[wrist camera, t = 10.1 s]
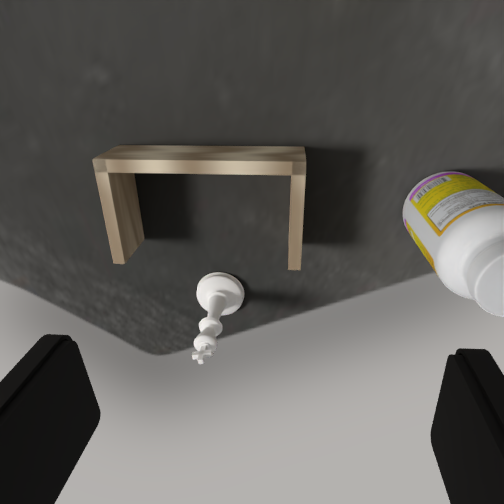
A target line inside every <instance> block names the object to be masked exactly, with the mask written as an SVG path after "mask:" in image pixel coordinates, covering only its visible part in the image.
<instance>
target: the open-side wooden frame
mask: <svg viewBox="0 0 504 504" xmlns="http://www.w3.org/2000/svg"><path fill="white" fill-rule="evenodd" d="M92 160H93V165H94V170H95V175H96V180H97V185H98V190H99V194H100V199H101V204H102V209H103V214H104V219H105V224H106V229H107V233H108V238H109V243H110V248H111V253H112V258H113V263H114V264H125V263H126V262H127V261H128V259H129V258H130V257H131V256H132V254H133V253H134V252H135V250H136V249H137V248H138V247H139V245H140V244H141V243H142V242H143V240H144V239H145V238H144V232H143V226H142V219H141V213H140V206H139V200H138V194H137V187H136V181H135V174H134V173H172V174H240V175H291V193H290V220H289V255H288V270H300V269H301V251H302V233H303V215H304V197H305V178H306V155H305V148H304V147H288V146H170V145H118V146H116V147H114V148H112V149H111V150H109V151H107V152H105V153H103V154H101V155H99V156H98V157H96V158H94V159H92Z"/></svg>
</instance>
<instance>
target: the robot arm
mask: <svg viewBox="0 0 504 504" xmlns="http://www.w3.org/2000/svg"><path fill="white" fill-rule="evenodd" d="M99 420H100V409H99V406H98V403H97V400H96V397H95V394H94V391H93V388H92V385H91V382H90V380H89V377H88V374H87V371H86V368H85V365H84V363H83V359H82V356H81V354H80V351H79V348H78V345H77V343H76V342H75V341H73V340H72V339H71V337H70V336H68V335H51V334H47V335H44V336H43V337H41V338H40V339H39V341H37V343H36V344H35V345H34V346H33V347H32V348H31V349H30V350H29V351H28V352H27V353H26V355H25V356H24V357H23V358H22V359H21V360H20V361H19V362H18V363H17V365H15V366H14V368H13V369H12V370H11V371H10V372H9V373H8V374H7V375H6V376H5V377H4V379H3V380H2V381H1V382H0V504H54V503H55V501H56V500H57V498H58V496H59V494H60V493H61V491H62V489H63V487H64V485H65V483H66V482H67V480H68V478H69V476H70V474H71V473H72V471H73V469H74V467H75V465H76V463H77V462H78V460H79V458H80V456H81V455H82V453H83V451H84V449H85V447H86V445H87V444H88V442H89V440H90V438H91V436H92V435H93V433H94V431H95V429H96V427H97V425H98V423H99ZM431 443H432V447H433V451H434V454H435V457H436V460H437V463H438V466H439V469H440V472H441V475H442V478H443V481H444V485H445V488H446V491H447V494H448V497H449V500H450V503H451V504H504V375H503V374H502V372H501V370H500V369H499V367H498V365H497V364H496V362H495V361H494V359H493V357H492V356H491V354H490V353H489V352H488V351H487V350H485V349H458V350H457V351H456V354H455V355H449V356H448V359H447V363H446V368H445V372H444V376H443V380H442V385H441V390H440V394H439V398H438V402H437V406H436V411H435V415H434V420H433V424H432V428H431Z"/></svg>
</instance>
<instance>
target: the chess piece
mask: <svg viewBox="0 0 504 504" xmlns="http://www.w3.org/2000/svg"><path fill="white" fill-rule="evenodd" d="M197 299H198V301H199V303H200V305H201V306H202V307H203V308H204V309H205V310H207V311H208V317H206V318H203V319H202V320H201V321H200V323H199V329H200V331H201V333H200V334H199V335H198V336H197V337H196V338H195V340H194V346H195V348H196V349H197V351H196V352H193V353H192V358H193V360H194V359H197V361H198V363H199V364H203V363H204V361H205V358H209V357H213V352H214V351H215V350H216V349H217V339H216V336H218V335H219V334H220V333H221V331H222V324H221V322H220V321H219V318H220V316H221V315H228V314H231V313H233V312H235V311H236V310H238V309H239V307H240V306H241V304H242V302H243V300H244V289H243V286H242V284H241V283H240V282H239V281H238V280H237V279H236V278H235V277H233V276H232V275H230V274H227V273H222V272H215V273H210V274H208V275H206V276H204V277H203V278H202V279H201V280H200V282H199V284H198V286H197Z"/></svg>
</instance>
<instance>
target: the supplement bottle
mask: <svg viewBox="0 0 504 504" xmlns="http://www.w3.org/2000/svg"><path fill="white" fill-rule="evenodd" d="M403 221H404V224H405V227H406V229H407V230H408V232H409V234H410V235H411V237H412V238H413V240H414V241H415V243H416V244H417V245H418V247H419V248H420V250H421V251H422V253H423V254H424V256H425V257H426V259H427V260H428V262H429V263H430V264H431V266H432V268H433V269H434V271H435V272H436V274H437V275H438V277H439V278H440V279H441V281H442V282H443V283H444V284H445V286H446V287H447V288H449V289H450V290H451V291H452V292H454V293H456V294H457V295H459V296H462V297H464V298H468V299H473V300H475V301H476V302H477V303H478V304H479V306H480V307H481V308H482V309H484V310H485V311H487V312H488V313H490V314H493V315H495V316H499V317H504V198H503V197H502V196H500V195H498V194H497V193H495V192H494V191H492V190H491V189H489V188H488V187H486V186H485V185H483V184H482V183H480V182H479V181H477V180H476V179H474V178H473V177H471V176H469V175H467V174H464V173H461V172H455V171H448V172H440V173H436V174H433V175H431V176H429V177H427V178H425V179H423V180H422V181H421V182H419V183H418V184H417V185H416V186H415V187H414V188H413V189H412V190H411V192H410V193H409V195H408V196H407V198H406V200H405V203H404V207H403Z"/></svg>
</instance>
